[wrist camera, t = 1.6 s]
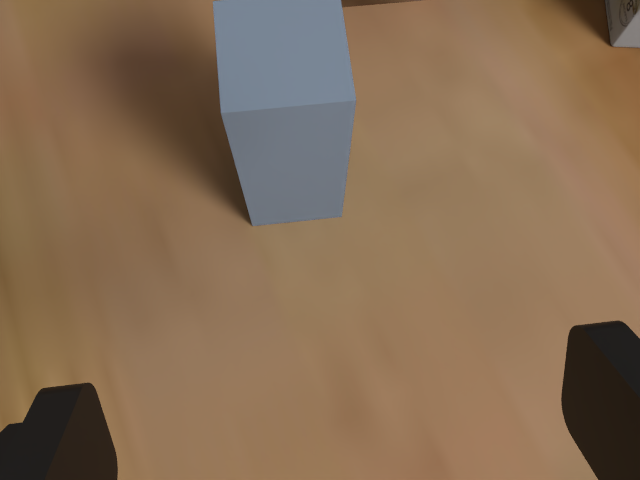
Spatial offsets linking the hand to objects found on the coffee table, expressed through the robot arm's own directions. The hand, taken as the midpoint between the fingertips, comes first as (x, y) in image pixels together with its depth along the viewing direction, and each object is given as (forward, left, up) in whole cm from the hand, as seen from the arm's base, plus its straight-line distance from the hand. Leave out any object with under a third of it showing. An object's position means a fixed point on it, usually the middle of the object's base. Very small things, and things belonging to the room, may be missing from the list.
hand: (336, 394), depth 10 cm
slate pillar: (0, +12, -18) cm, 22 cm away
